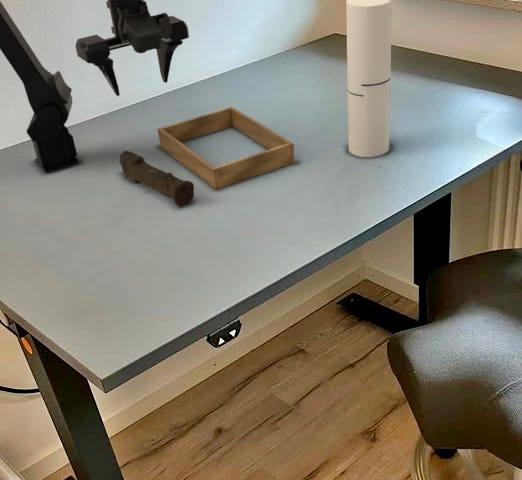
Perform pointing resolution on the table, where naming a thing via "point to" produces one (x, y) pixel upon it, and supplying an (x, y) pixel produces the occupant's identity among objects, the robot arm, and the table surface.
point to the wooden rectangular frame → (233, 171)
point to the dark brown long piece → (156, 178)
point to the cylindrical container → (368, 76)
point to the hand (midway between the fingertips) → (141, 88)
